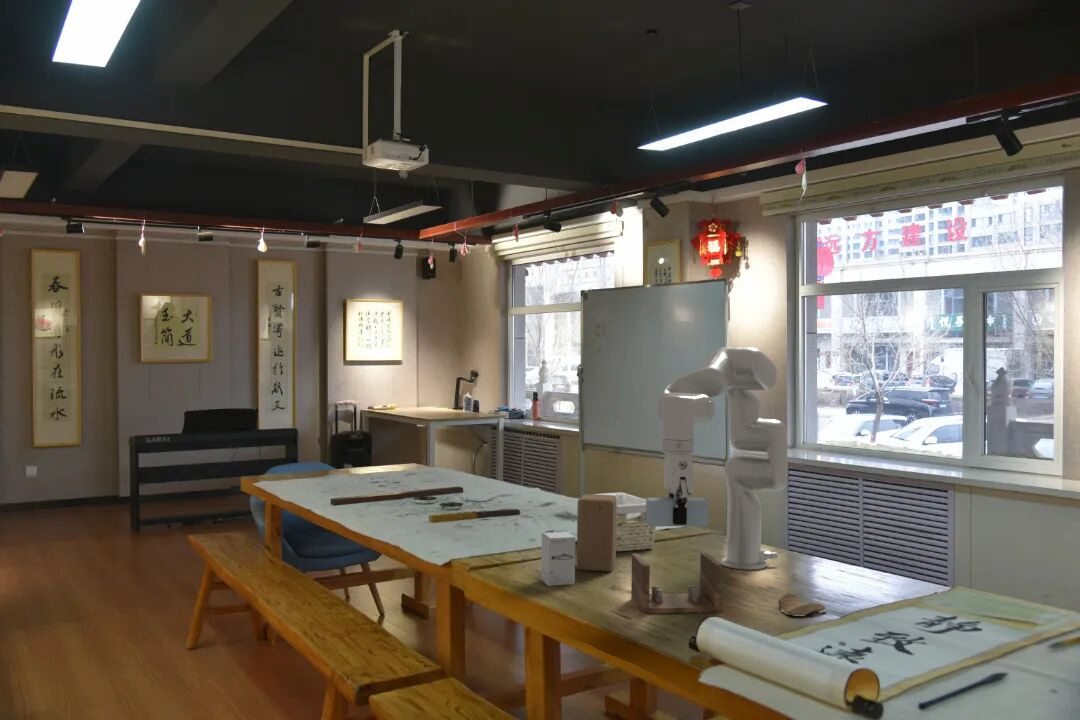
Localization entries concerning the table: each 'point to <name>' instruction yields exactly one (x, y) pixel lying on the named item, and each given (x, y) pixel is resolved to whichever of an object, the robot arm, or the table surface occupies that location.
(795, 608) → the pottery shard
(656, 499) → the grey rectangular block
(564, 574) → the supplement box
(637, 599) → the peg frame
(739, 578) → the table surface
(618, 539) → the storage basket
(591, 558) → the wooden block
